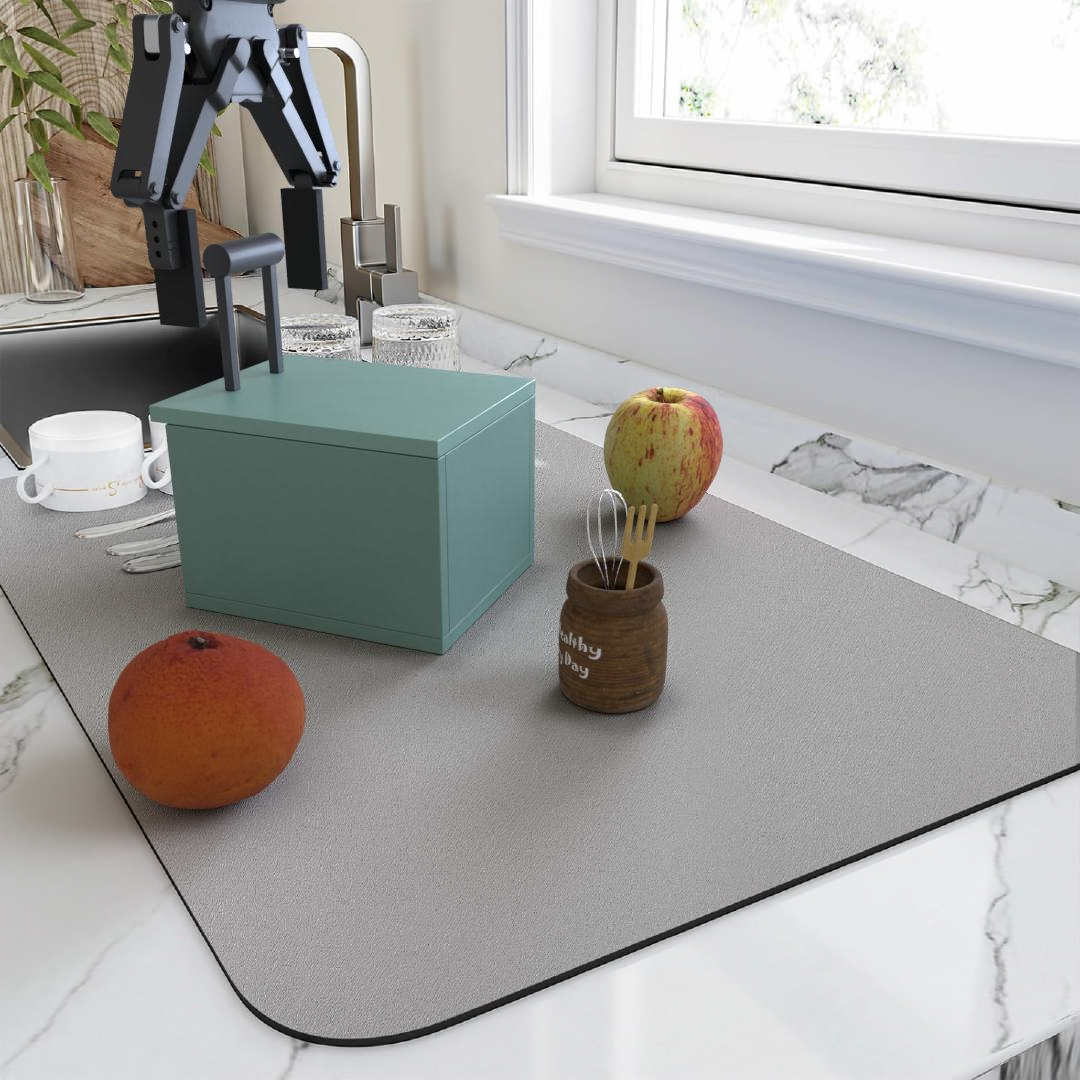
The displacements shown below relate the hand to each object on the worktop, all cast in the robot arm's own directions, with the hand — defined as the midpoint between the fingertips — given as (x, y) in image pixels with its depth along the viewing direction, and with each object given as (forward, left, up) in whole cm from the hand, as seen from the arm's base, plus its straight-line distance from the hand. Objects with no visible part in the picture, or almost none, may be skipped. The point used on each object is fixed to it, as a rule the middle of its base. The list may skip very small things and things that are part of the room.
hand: (251, 306), depth 73 cm
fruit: (+20, -17, -18) cm, 32 cm away
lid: (+6, +3, -6) cm, 9 cm away
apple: (+13, +27, -18) cm, 35 cm away
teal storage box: (+7, +3, -18) cm, 19 cm away
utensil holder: (+28, +3, -18) cm, 33 cm away
